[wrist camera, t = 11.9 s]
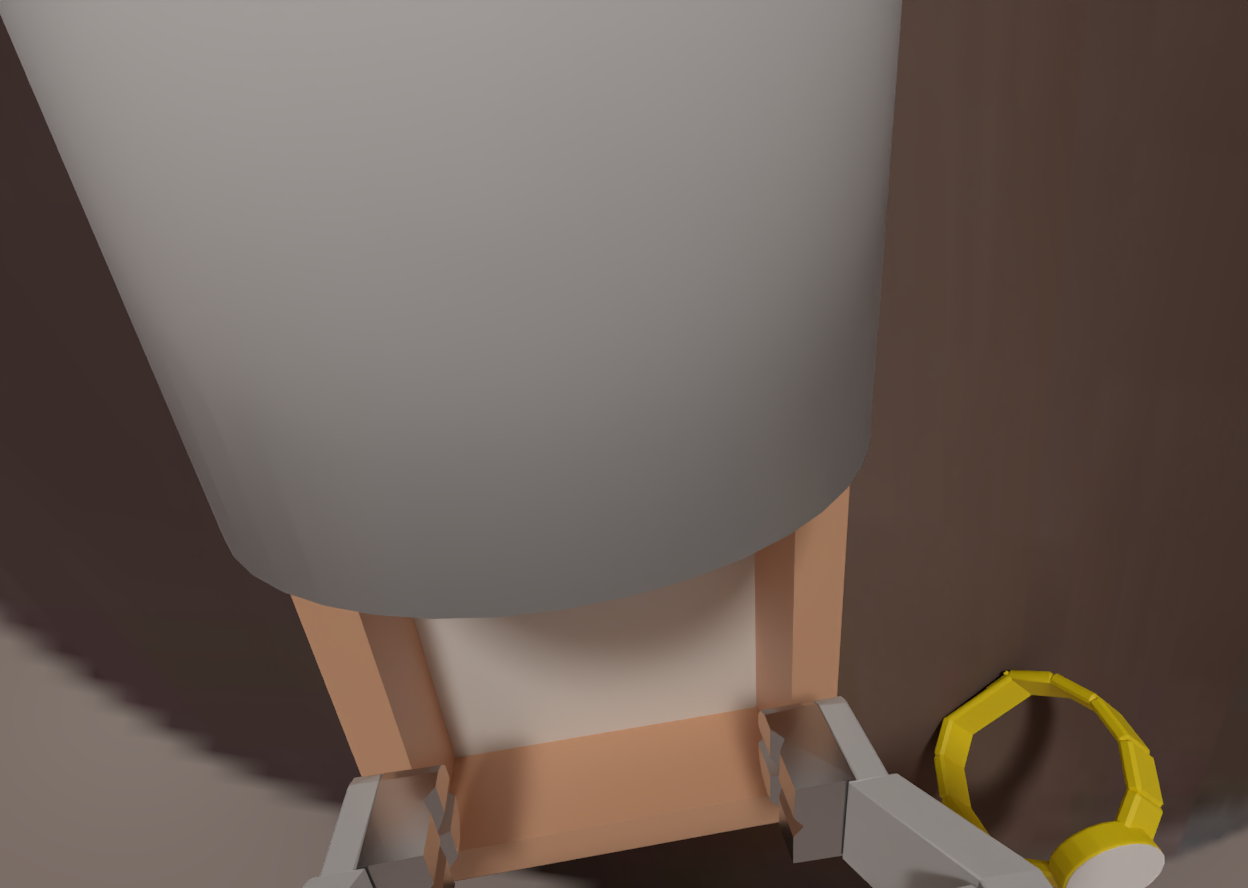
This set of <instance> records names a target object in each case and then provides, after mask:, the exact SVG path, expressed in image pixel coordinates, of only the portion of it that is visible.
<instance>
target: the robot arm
mask: <svg viewBox="0 0 1248 888" xmlns="http://www.w3.org/2000/svg"><path fill="white" fill-rule="evenodd" d="M758 726H759V729H760V732H761V734H762V737H763V738H762V740H761V741H760V742H759V743H758V745H759V760H760V766H761V772H762V776H763V780H764V783H765V787H766V790H767V793H768V795H769V798H770V801H772V802H773V803H774V804H775V805H777V806H778V807H779V826H780V829H781V832H782V834H783V837H784V840H785V843H786V845H787V848H788V851H789V853H790V856H791V859H792V862H793V863H798V862H805V861H811V860H818V859H824V858H831V857H837V856H843V859H844V860H845V861H846V862H847V863H848V864H849V865H850V866H851V867H852V868H853V869H854V870H855V871H856V872H857V873H858V874H859V875H860V876H861V877H862V878H863V879H864V880H865V881H866V882H867V883H868V884H870V885H871V886H872V887H873V888H1053V887H1052V886H1051V884H1050V883H1049V881H1048V880H1047V879H1046V877H1045V876H1044V874H1043V873H1042V872H1041V870H1040V869H1038V868H1037V867H1035V866H1034V865H1033V864H1031V863H1030V862H1028V861H1027V860H1025V859H1024V858H1022V857H1021V856H1019V855H1018V854H1016V853H1015V852H1013V851H1012V850H1010V849H1009V848H1007V847H1006V846H1004V845H1003V844H1001V843H1000V842H998V841H997V840H995V839H994V838H992V837H991V836H989V835H988V834H986V833H985V832H983V831H982V830H981V829H979V828H978V827H976V826H975V825H973V824H972V823H970V822H969V821H967V820H966V819H964V818H963V817H961V816H960V815H958V814H957V813H955V812H954V811H952V810H951V809H949V808H948V807H946V806H945V805H943V804H942V803H940V802H939V801H937V800H936V799H934V798H933V797H932V796H930V795H929V794H927V793H926V792H924V791H923V790H921V789H920V788H918V787H917V786H915V785H914V784H912V783H911V782H909V781H908V780H906V779H905V778H903V777H902V776H900V775H899V774H897V773H895V774H888V772H887V771H886V769H885V767H884V765H883V764H882V762H881V760H880V759H879V757H878V755H877V753H876V752H875V750H874V748H873V746H872V745H871V743H870V741H869V739H868V738H867V736H866V734H865V732H864V731H863V729H862V727H861V726H860V724H859V722H858V720H857V719H856V717H855V715H854V713H853V712H852V710H851V708H850V706H849V705H848V703H847V701H846V700H845V699H844V698H842V697H841V696H840V697H834V698H828V699H822V700H816V701H808V702H802V703H797V704H791V705H786V706H780V707H775V708H769V709H764V710H760V712H759V715H758ZM449 779H450V778H449V775H448V772H447V769H446V766H445V765H438V766H431V767H424V768H417V769H410V770H403V771H396V772H388V773H383V774H376V775H370V776H363V777H357V778H354V779H353V781H352V782H351V784H350V785H349V787H348V788H347V792H346V795H345V798H344V801H343V804H342V807H341V811H340V814H339V817H338V820H337V823H336V827H335V830H334V833H333V836H332V839H331V842H330V846H329V849H328V852H327V855H326V858H325V861H324V864H323V867H322V871H321V874H320V876H317V877H313V878H310V879H309V880H308V881H307V882H306V884H305V885H304V886H303V887H302V888H454V885H455V883H454V880H453V877H452V874H451V871H450V867H451V865H452V864H453V863H454V861H455V860H456V858H457V857H458V853H459V843H460V816H459V809H458V804H457V801H456V797H455V795H453V794H451V793H450V792H448V786H449Z"/></svg>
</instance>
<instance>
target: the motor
mask: <svg viewBox="0 0 1248 888" xmlns="http://www.w3.org/2000/svg"><path fill="white" fill-rule="evenodd" d="M901 9H902V0H0V15H1V17H2V19H3V22H4V24H5V26H6V29H7V31H8V33H9V36H10V38H11V40H12V43H13V45H14V47H15V50H16V52H17V54H18V57H19V59H20V61H21V64H22V66H23V68H24V71H25V73H26V76H27V78H28V80H29V83H30V85H31V87H32V90H33V92H34V94H35V97H36V99H37V101H38V104H39V106H40V108H41V111H42V113H43V115H44V118H45V120H46V122H47V125H48V127H49V129H50V132H51V134H52V136H53V139H54V141H55V143H56V146H57V148H58V151H59V153H60V155H61V158H62V160H63V162H64V165H65V167H66V169H67V172H68V174H69V176H70V179H71V181H72V183H73V186H74V188H75V190H76V193H77V195H78V197H79V200H80V202H81V204H82V207H83V209H84V211H85V214H86V216H87V219H88V221H89V223H90V226H91V228H92V230H93V233H94V235H95V237H96V240H97V242H98V244H99V247H100V249H101V251H102V254H103V256H104V258H105V261H106V263H107V265H108V268H109V270H110V272H111V275H112V277H113V279H114V282H115V284H116V286H117V289H118V291H119V294H120V296H121V298H122V301H123V303H124V305H125V308H126V310H127V312H128V315H129V317H130V319H131V322H132V324H133V326H134V329H135V331H136V333H137V336H138V338H139V340H140V343H141V345H142V347H143V350H144V352H145V354H146V357H147V359H148V361H149V364H150V366H151V369H152V371H153V373H154V376H155V378H156V380H157V383H158V385H159V387H160V390H161V392H162V394H163V397H164V399H165V401H166V404H167V406H168V408H169V411H170V413H171V415H172V418H173V420H174V422H175V425H176V427H177V429H178V432H179V434H180V437H181V439H182V441H183V444H184V446H185V448H186V451H187V453H188V455H189V458H190V460H191V462H192V465H193V467H194V469H195V472H196V474H197V476H198V479H199V481H200V483H201V486H202V488H203V490H204V493H205V495H206V497H207V500H208V502H209V504H210V507H211V509H212V512H213V514H214V516H215V519H216V521H217V523H218V526H219V528H220V530H221V533H222V535H223V537H224V539H225V541H226V543H227V545H228V547H229V549H230V551H231V553H232V555H233V556H234V557H235V558H236V559H237V560H238V561H239V562H240V563H241V564H242V565H243V566H244V567H245V568H246V569H247V570H248V571H249V572H250V573H251V574H252V575H254V576H255V577H257V578H259V579H261V580H263V581H264V582H266V583H268V584H270V585H272V586H273V587H275V588H277V589H279V590H280V591H282V592H285V593H288V594H290V595H291V597H292V600H293V602H294V605H295V607H296V610H297V612H298V615H299V618H300V620H301V623H302V625H303V628H304V630H305V633H306V635H307V638H308V641H309V643H310V646H311V648H312V651H313V653H314V656H315V658H316V661H317V664H318V666H319V669H320V671H321V674H322V676H323V679H324V681H325V684H326V686H327V689H328V692H329V694H330V697H331V699H332V702H333V704H334V707H335V709H336V712H337V715H338V717H339V720H340V722H341V725H342V727H343V730H344V732H345V735H346V738H347V740H348V743H349V745H350V748H351V750H352V753H353V755H354V758H355V761H356V763H357V766H358V768H359V771H360V773H361V776H362V777H363V776H370V775H376V774H383V773H388V772H396V771H403V770H410V769H417V768H424V767H431V766H438V765H445V766H446V769H447V772H448V775H449V778H450V779H449V786H448V792H450V793H451V794H453V795H455V797H456V801H457V804H458V809H459V816H460V843H459V853H458V857H457V858H456V860H455V861H454V863H453V864H452V865H451V867H450V871H451V874H452V877H453V880H454V881H458V880H464V879H469V878H475V877H480V876H486V875H491V874H497V873H502V872H508V871H513V870H519V869H524V868H530V867H535V866H541V865H546V864H552V863H557V862H562V861H568V860H573V859H579V858H584V857H590V856H595V855H601V854H606V853H612V852H617V851H623V850H628V849H634V848H639V847H645V846H650V845H656V844H661V843H666V842H672V841H677V840H683V839H688V838H694V837H699V836H705V835H710V834H716V833H721V832H727V831H732V830H738V829H743V828H749V827H754V826H759V825H765V824H770V823H776V822H779V807H778V806H777V805H775V804H774V803H773V802H772V801H770V798H769V795H768V793H767V790H766V787H765V783H764V780H763V776H762V772H761V766H760V760H759V745H758V743H759V742H760V741H761V740H762V738H763V737H762V734H761V732H760V729H759V726H758V715H759V712H760V710H764V709H769V708H775V707H780V706H786V705H791V704H797V703H802V702H808V701H816V700H822V699H828V698H834V697H837V686H838V670H839V653H840V637H841V620H842V604H843V588H844V571H845V555H846V538H847V522H848V505H849V489H850V484H851V482H852V481H853V479H854V478H855V476H856V475H857V473H858V472H859V470H860V469H861V468H862V466H863V463H864V460H865V457H866V454H867V451H868V448H869V445H870V431H871V417H872V404H873V390H874V377H875V363H876V349H877V336H878V322H879V309H880V295H881V281H882V268H883V254H884V241H885V227H886V213H887V200H888V186H889V173H890V159H891V145H892V132H893V118H894V105H895V91H896V77H897V64H898V50H899V37H900V23H901Z"/></svg>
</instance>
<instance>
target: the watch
mask: <svg viewBox="0 0 1248 888" xmlns="http://www.w3.org/2000/svg"><path fill="white" fill-rule="evenodd" d="M1003 674H1004V676H1002V677H1001V678H999V679H998V680H996V681H995V682H994V683H992V684H991V685H989V686H988V687H986V689H985V690H984V691H982V692H981V693H979V694H978V695H976V696H975V697H974V698H972V699H971V700H969V701H968V702H966V703H965V704H964V705H962V706H961V707H959V708H958V709H956V710H955V711H954V712H952V713H951V714H949V715H948V716H946V717H945V718H943V721H942V725H941V729H940V732H939V736H938V739H937V743H936V747H935V750H934V753H935V755H936V756H935V757H934V764H935V770H936V776H937V783H938V789H939V796H940V797H941V798H942V803H943V805H945V806H946V807H948V808H949V809H951V810H952V811H954V812H955V813H957V814H958V815H960V816H961V817H963V818H964V819H966V820H967V821H969V822H970V823H972V824H973V825H975V826H976V827H978V828H979V829H981V830H982V831H983V832H985V833H986V834H988V832H987V831H986V829H985V828H984V826H983V825H982V823H981V822H980V820H979V819H978V817H977V816H976V814H975V813H974V811H973V810H972V808H971V804H970V799H969V793H968V788H967V782H966V777H965V772H964V767H965V763H966V759H967V755H968V751H969V747H970V744H971V740H972V736H973V734H975V733H976V732H978V731H979V730H981V729H982V728H983V727H985V726H986V725H988V724H989V723H991V722H992V721H994V720H995V719H997V718H998V717H1000V716H1001V715H1003V714H1004V713H1006V712H1007V711H1009V710H1010V709H1012V708H1013V707H1014V706H1016V705H1017V704H1019V703H1020V702H1022V701H1023V700H1025V699H1026V698H1028V697H1029V696H1031V695H1039V696H1051V697H1063V698H1071V699H1073V700H1074V701H1076V702H1078V703H1080V704H1082V705H1083V706H1085V707H1087V708H1089V709H1091V710H1093V711H1094V712H1096V714H1097V715H1098V716H1099V718H1100V719H1101V720H1102V722H1103V723H1104V724H1105V726H1106V727H1107V728H1108V730H1109V731H1110V732H1111V734H1112V735H1113V736H1114V738H1115V739H1116V740H1117V741H1118V746H1119V752H1120V757H1121V763H1122V768H1123V774H1124V779H1125V785H1126V788H1127V789H1126V791H1125V794H1124V796H1123V799H1122V802H1121V804H1120V807H1119V810H1118V812H1117V815H1116V818H1115V821H1111V822H1104V823H1099V824H1096V825H1093V826H1090V827H1087V828H1085V829H1083V830H1081V831H1079V832H1077V833H1075V834H1073V835H1072V836H1070V837H1069V838H1067V839H1066V840H1065V841H1064V842H1062V843H1061V844H1060V845H1059V846H1058V847H1057V849H1056V850H1055V851H1054V852H1053V854H1052V855H1051V858H1050V861H1042V860H1034V859H1025V858H1024V859H1025V860H1027V861H1028V862H1030V863H1031V864H1033V865H1034V866H1035V867H1037V868H1038V869H1040V870H1041V872H1042V873H1043V874H1044V876H1045V877H1046V879H1047V880H1048V881H1049V883H1050V884H1051V886H1052V887H1059V888H1145V887H1146V886H1148V885H1149V884H1150V883H1152V881H1153V880H1154V879H1155V878H1156V877H1157V876H1158V875H1159V874H1160V873H1161V870H1162V868H1163V866H1164V864H1165V863H1164V855H1163V853H1162V851H1161V850H1160V849H1159V847H1158V846H1157V845H1156V844H1155V843H1154V841H1153V838H1154V835H1155V833H1156V830H1157V827H1158V824H1159V821H1160V819H1161V816H1162V813H1163V812H1162V810H1161V808H1160V807H1161V806H1162V805H1163V801H1162V796H1161V791H1160V787H1159V782H1158V777H1157V772H1156V768H1155V763H1154V758H1152V757H1151V756H1150V755H1149V753H1150V750H1149V749H1148V748H1147V747H1146V745H1145V744H1144V743H1143V741H1142V740H1141V739H1140V738H1139V736H1138V735H1137V734H1136V733H1135V731H1134V730H1133V729H1132V728H1131V726H1130V725H1129V724H1128V723H1127V721H1126V720H1125V719H1124V717H1123V716H1122V715H1121V714H1120V713H1119V712H1117V711H1116V710H1115V709H1114V708H1113V707H1111V706H1110V705H1109V704H1108V703H1106V702H1105V701H1104V700H1103V699H1101V698H1100V697H1099V696H1098V695H1096V694H1095V693H1093V692H1091V691H1089V690H1088V689H1086V688H1084V687H1082V686H1080V685H1078V684H1076V683H1074V682H1072V681H1070V680H1068V679H1066V678H1065V677H1063V676H1061V675H1059V674H1052V673H1051V672H1046V671H1028V670H1011V671H1010V672H1008V671H1005V672H1004V673H1003ZM988 835H989V834H988ZM989 836H990V835H989Z"/></svg>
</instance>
